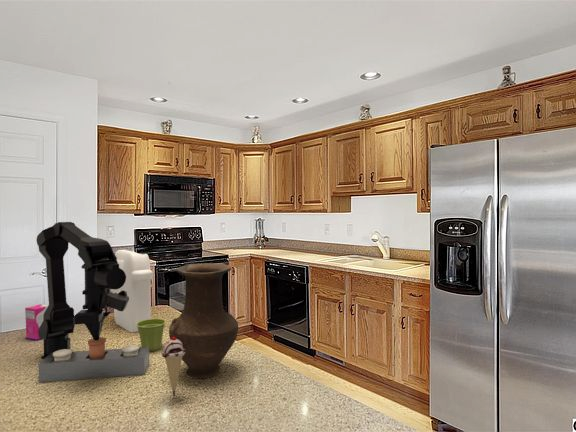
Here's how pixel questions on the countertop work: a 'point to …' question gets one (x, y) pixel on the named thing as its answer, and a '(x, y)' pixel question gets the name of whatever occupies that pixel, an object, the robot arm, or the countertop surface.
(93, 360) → the socket block
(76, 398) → the countertop surface
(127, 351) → the ivory plug far
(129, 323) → the white plastic jug
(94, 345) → the rust plug
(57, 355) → the ivory plug near
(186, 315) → the vase
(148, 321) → the plant pot
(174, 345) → the ice cream cone
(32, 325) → the supplement box
